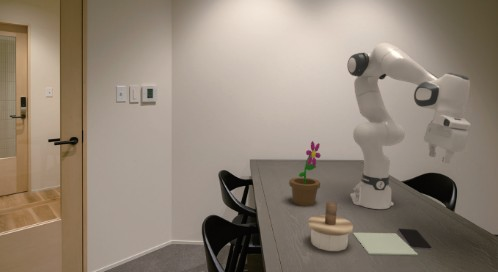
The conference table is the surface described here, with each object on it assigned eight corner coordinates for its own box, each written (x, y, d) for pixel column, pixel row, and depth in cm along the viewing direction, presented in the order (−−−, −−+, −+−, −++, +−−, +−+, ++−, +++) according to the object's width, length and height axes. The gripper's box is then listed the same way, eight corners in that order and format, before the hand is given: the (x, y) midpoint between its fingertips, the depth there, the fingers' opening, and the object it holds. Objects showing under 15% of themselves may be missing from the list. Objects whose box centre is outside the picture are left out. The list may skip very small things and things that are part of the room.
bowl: (308, 235, 122) (309, 219, 121) (341, 235, 122) (342, 220, 121) (315, 250, 110) (316, 233, 109) (351, 251, 110) (352, 234, 110)
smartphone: (410, 247, 114) (396, 228, 129) (410, 250, 114) (396, 231, 129) (433, 248, 113) (416, 229, 128) (433, 251, 114) (416, 232, 128)
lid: (304, 217, 123) (305, 196, 122) (345, 218, 123) (346, 197, 122) (312, 235, 108) (314, 210, 107) (359, 236, 108) (361, 211, 107)
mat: (352, 233, 124) (352, 232, 124) (395, 234, 125) (395, 233, 125) (369, 254, 108) (369, 253, 108) (417, 255, 109) (417, 254, 109)
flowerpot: (308, 209, 149) (311, 143, 145) (282, 202, 158) (285, 139, 154) (324, 202, 159) (328, 140, 155) (299, 195, 169) (302, 136, 165)
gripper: (423, 116, 126) (416, 152, 129) (454, 122, 106) (444, 165, 108) (440, 119, 126) (432, 154, 128) (474, 125, 106) (464, 167, 108)
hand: (438, 159), depth 118 cm, fingers open, 8 cm apart
